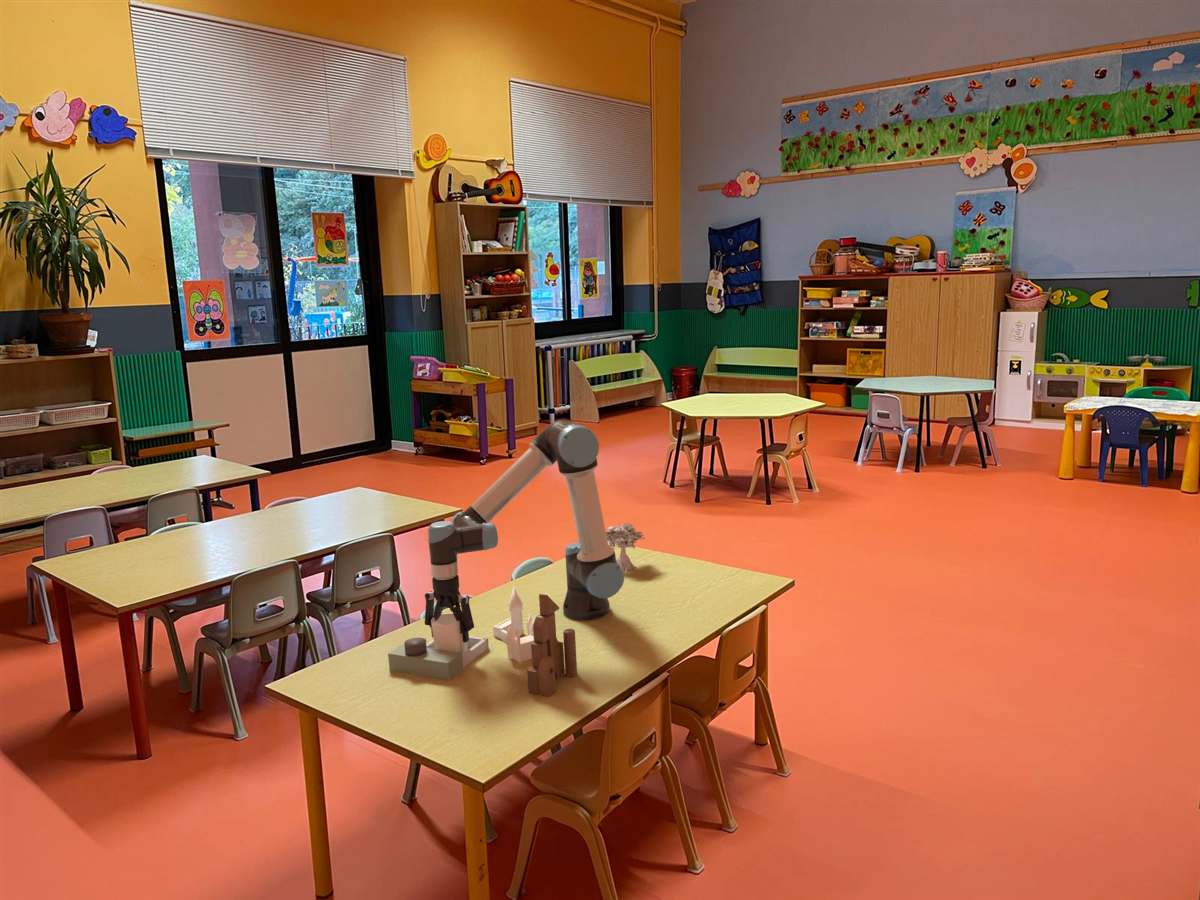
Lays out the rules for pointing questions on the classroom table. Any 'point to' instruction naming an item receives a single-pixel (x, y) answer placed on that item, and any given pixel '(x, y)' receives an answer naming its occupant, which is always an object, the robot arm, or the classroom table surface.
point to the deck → (433, 658)
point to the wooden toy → (550, 651)
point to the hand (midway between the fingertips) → (451, 650)
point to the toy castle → (516, 631)
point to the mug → (446, 632)
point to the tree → (623, 542)
